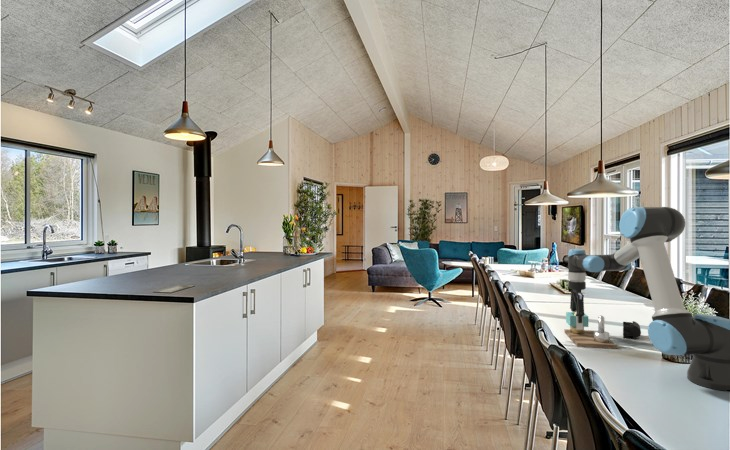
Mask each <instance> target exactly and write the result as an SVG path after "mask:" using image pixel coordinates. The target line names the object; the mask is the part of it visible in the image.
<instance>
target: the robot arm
mask: <svg viewBox="0 0 730 450" xmlns="http://www.w3.org/2000/svg"><path fill="white" fill-rule="evenodd" d="M618 226H619V227H618V228H619V232H620V234H621V235H622V237H623V238H626V239H629V242H628V243H626V244H624V246H622V247H621V248H619V249H618V250H616V251H615V252H613V253H612V254H587V253H586V250H585V249H582V248H572V249H571V248H570V249H569V250H568V255H567V259H568V261H567V263H568V264H567V265H568V266H567V267H568V271H567V273H568V274H567V275H568V276H567V277H568V278H567V279H568V285H567V286H568V289H569V290H570V307H569V309H570V311H571V312H577V315H575V316H576V329H577V330H583V316H584V313H585V306H584V305H585V304H584V299H585V298H584V297H585V294H583V292H582V291H585V290H586V287H587V286H586V285H587V283H586V277H587V275H588V274H587V273H586V272H589V273H600V272H614V271H615V272H622V271H628V270H630V268H631V266H632V263H633V262H634V261H636V260H638V259H640V261H641V266H642V270H643V273H644V276H645V279H646V283H647V287H648V290H649V295H650V297H651V301H652V305H653V308H654V313H653V314H652V316H651V319H652V321H651V322H650V323H649V324H648V328H647V334H648V338H649V340H650V342H651V344H652V345H653V346H654V347H655V349H656V350H658V351H659V352H661V353H662V354H664V355H669V356H683V355H684V356H686V355H687V356H688V355H693V357H692V360H691V362H690V364H689V367H688V369H687V372H686V378H687V380H688V381H690V382H692V383H693V384H696V385H698V386H701V387H705V388H709V389H712V390H716V391H717V390H719V391H725V392H726V391H727V390H730V319H729V318H725V317H722V316H717V315H710V314H703V313H695V314H694V315H693V314H692V312H691V311H689V310H688V309H686V308H685V306H684V303H683V300H682V296H681V293H680V290H679V289H680V288H679V287H678V284H677V280H676V277H675V274H674V270H673V268H672V263H671V259H670V257H669V254H668V251H667V247H666V244H665V243H670V242H672V241H674V240H676V239H677V238H678V237H679V236H680V235H681V234H682V233H683V232H684V230H685V227H686V219H685V217H684V216H683V214H682V213H681V212H680V211H679V210H678V209H675V208H674V207H669V206H659V207H658V206H657V207H656V206H655V207H654V206H650V207H649V206H645V207H643V206H638V207H631V208H628V209H626V210H625V211H624V212H623V213H622V215H621V217H620V220H619V225H618ZM727 392H728V391H727Z"/></svg>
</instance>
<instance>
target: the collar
mask: <svg viewBox="0 0 730 450" xmlns="http://www.w3.org/2000/svg"><path fill="white" fill-rule="evenodd" d="M574 313H575V312H570V311H566V313H565V322H566V324H567V325H568V326H569V327H570V326H576V316H575V315H574ZM583 327H584V328H588V327H589V316H588V315H587V314H586V313H585V312H584V316H583Z"/></svg>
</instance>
